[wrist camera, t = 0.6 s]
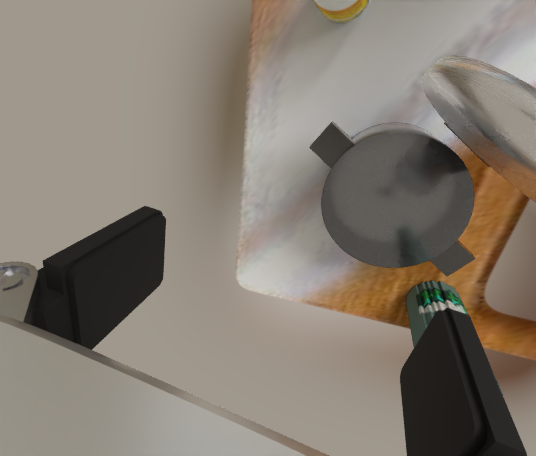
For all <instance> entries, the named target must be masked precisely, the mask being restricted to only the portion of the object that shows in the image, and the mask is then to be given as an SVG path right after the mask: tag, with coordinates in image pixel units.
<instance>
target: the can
mask: <svg viewBox="0 0 536 456" xmlns="http://www.w3.org/2000/svg"><path fill="white" fill-rule="evenodd" d="M406 296H407V300H406V305H407V311H408V317H409V322H410V328H411V334H412V340H413V345H414V348H415V346H416V344H417V343H418V341H419V339H420V338H421V336H422V334H423V333H424V331H425V329H426V328H427V326H428V324H429V323H430V321H431V320H432V318H433V316H434V315H435V313H436V312H437V311H438V310H441V311H443V310H444V309H446V308H450V309H453V310H456V311H459V312H462V313H465V314H467V312H466V309H465V307H464V305H463V303H462V300H461V298H460V296H459V294H458V293H456V290H455V288H453V287H451V286H449V285H447V284H445V283H443V282H441V281H439V282H438V283H437V282H435V281H433V280H432V281H431V282H428V281H426V283H424V282H421V284H420V285H419V286H417V285H415V286H414V287H413V288H412V289H411V291H410V292H409V293H408V294H407V295H406ZM493 374H494V373H493ZM496 381H497V380H496ZM497 383H498V382H497ZM498 386H499V385H498ZM499 388H500V387H499ZM500 390H501V389H500ZM501 393H502V392H501ZM502 395H503V394H502Z"/></svg>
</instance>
